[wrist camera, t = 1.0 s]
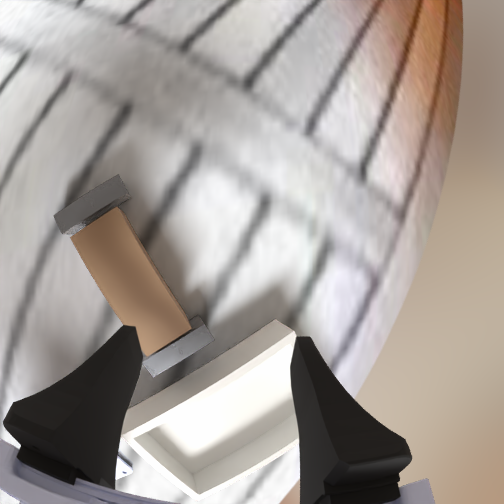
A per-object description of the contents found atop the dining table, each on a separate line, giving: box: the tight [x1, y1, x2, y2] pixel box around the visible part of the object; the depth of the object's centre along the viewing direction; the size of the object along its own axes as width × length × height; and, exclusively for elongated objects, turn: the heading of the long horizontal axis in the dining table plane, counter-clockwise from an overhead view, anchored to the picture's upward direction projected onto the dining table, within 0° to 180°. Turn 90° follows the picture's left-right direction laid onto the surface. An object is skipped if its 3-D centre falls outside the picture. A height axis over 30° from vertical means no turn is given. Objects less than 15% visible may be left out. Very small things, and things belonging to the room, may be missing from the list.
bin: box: [121, 319, 299, 501], centre depth 25 cm, size 18×12×4 cm, turn 119°
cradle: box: [54, 174, 214, 377], centre depth 22 cm, size 6×15×3 cm, turn 29°
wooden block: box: [70, 207, 192, 357], centre depth 22 cm, size 4×10×5 cm, turn 30°
